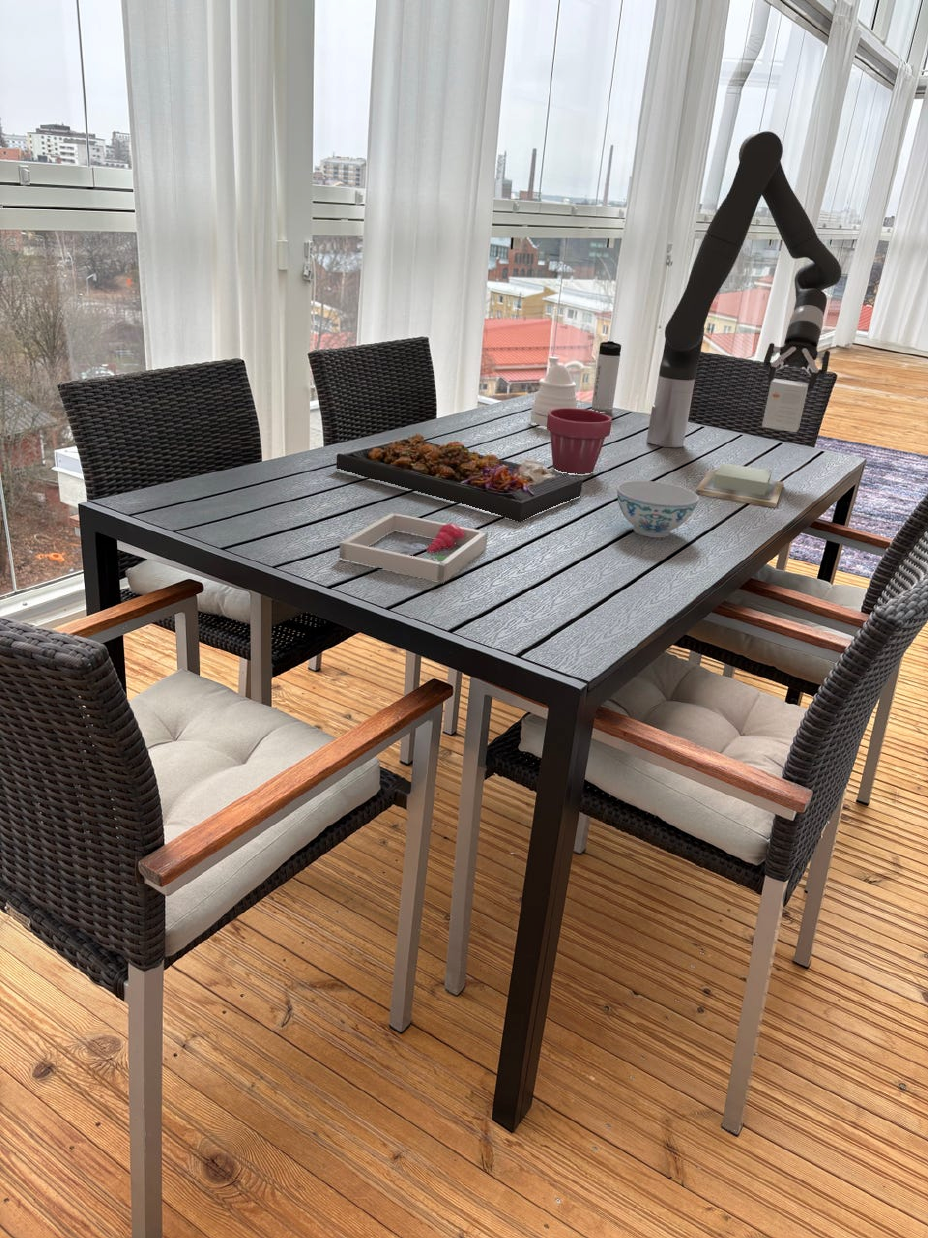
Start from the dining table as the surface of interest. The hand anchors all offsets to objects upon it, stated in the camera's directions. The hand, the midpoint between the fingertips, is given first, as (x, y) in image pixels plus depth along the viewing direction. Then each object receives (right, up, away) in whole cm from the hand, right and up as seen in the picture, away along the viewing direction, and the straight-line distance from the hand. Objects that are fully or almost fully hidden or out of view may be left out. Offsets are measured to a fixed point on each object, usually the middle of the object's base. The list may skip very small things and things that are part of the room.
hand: (790, 386), depth 218 cm
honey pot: (-51, -1, +41) cm, 65 cm away
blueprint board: (-13, -25, -6) cm, 28 cm away
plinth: (-13, -25, -6) cm, 28 cm away
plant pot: (-50, -20, -2) cm, 54 cm away
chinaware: (-40, -37, -39) cm, 67 cm away
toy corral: (-83, -43, -61) cm, 112 cm away
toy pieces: (-81, -43, -59) cm, 109 cm away
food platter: (-76, -26, -20) cm, 83 cm away
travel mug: (-34, +8, +65) cm, 74 cm away
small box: (-2, -9, +2) cm, 10 cm away
